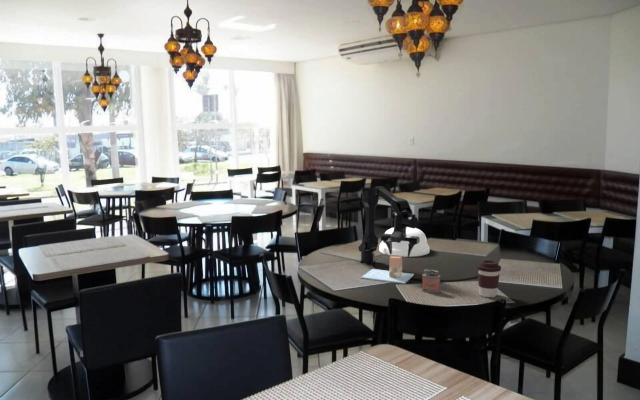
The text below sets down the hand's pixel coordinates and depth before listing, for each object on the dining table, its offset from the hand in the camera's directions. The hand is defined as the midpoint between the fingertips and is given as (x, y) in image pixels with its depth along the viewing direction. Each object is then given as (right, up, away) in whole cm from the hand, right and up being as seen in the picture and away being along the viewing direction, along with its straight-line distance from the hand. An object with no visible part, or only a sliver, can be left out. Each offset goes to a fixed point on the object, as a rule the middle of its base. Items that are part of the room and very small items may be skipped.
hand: (399, 255), depth 262 cm
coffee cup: (+34, -14, -32) cm, 49 cm away
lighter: (+10, -14, -26) cm, 31 cm away
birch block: (-3, -10, -5) cm, 11 cm away
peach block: (-3, -5, -6) cm, 8 cm away
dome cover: (+10, -3, +51) cm, 52 cm away
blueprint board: (-6, -10, -3) cm, 12 cm away
